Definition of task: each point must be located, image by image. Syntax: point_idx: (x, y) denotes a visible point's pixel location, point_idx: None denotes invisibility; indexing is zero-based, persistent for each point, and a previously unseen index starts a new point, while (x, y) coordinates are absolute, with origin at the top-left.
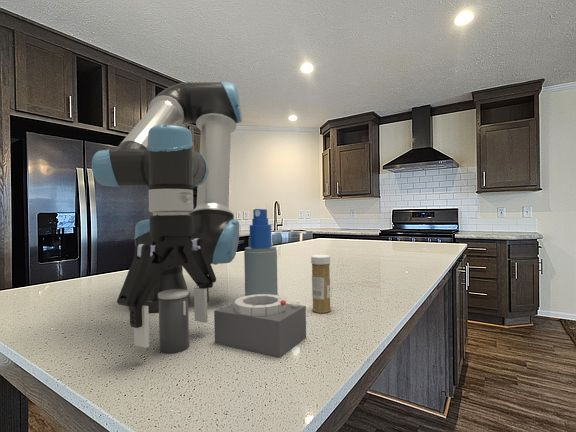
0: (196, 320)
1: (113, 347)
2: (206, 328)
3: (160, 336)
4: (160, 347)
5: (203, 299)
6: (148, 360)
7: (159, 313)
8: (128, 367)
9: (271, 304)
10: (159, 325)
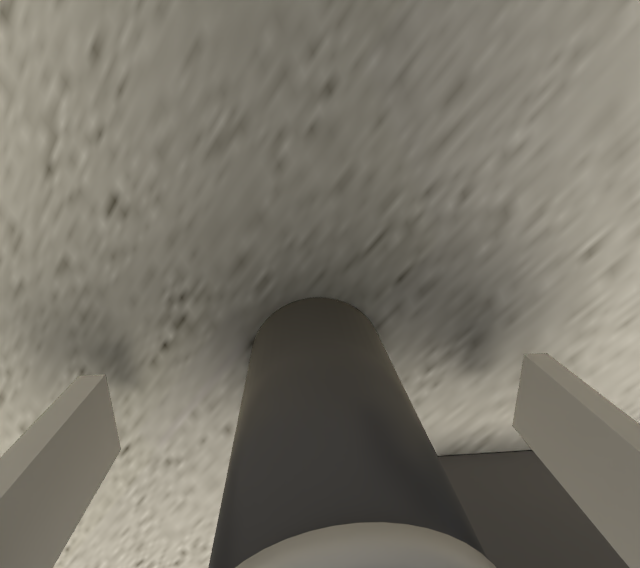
0: (524, 369)
1: (146, 58)
2: (582, 302)
3: (246, 380)
4: (253, 348)
5: (620, 544)
6: (166, 368)
7: (228, 473)
8: (76, 355)
9: None
10: (244, 404)
